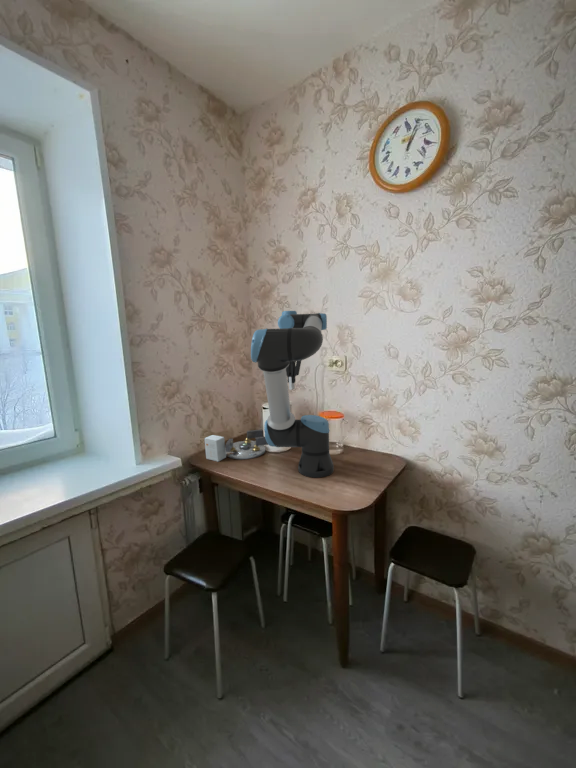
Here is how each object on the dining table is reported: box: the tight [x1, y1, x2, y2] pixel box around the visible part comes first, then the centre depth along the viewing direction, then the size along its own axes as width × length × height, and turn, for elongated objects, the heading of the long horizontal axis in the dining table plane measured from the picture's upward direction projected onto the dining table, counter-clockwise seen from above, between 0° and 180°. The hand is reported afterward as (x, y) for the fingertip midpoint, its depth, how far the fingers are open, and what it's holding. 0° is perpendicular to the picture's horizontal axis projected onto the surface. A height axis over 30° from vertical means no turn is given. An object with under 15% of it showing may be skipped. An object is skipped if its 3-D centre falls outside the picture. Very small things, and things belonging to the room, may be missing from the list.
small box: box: [204, 434, 227, 462], centre depth 158 cm, size 8×6×10 cm
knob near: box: [253, 436, 269, 451], centre depth 162 cm, size 10×4×6 cm, turn 103°
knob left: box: [225, 438, 235, 452], centre depth 159 cm, size 10×4×6 cm, turn 177°
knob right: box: [243, 428, 264, 443], centre depth 173 cm, size 10×4×6 cm, turn 102°
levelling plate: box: [225, 440, 266, 460], centre depth 166 cm, size 20×20×4 cm
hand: (291, 389), depth 169 cm, fingers closed
